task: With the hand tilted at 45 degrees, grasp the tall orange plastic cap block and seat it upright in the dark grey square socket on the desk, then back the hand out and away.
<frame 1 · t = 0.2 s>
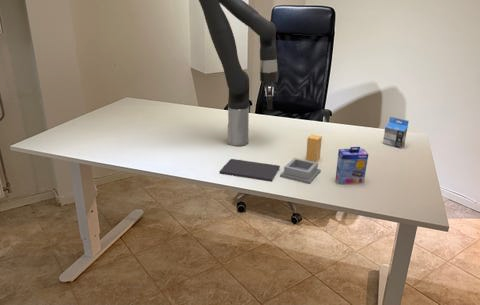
hand: (269, 106, 176), 18 cm above the table, tool pointing down, fingers open, 8 cm apart
square socket: (300, 174, 153), on the table
ink cartridge box: (349, 181, 148), on the table
blue grey product box: (393, 145, 181), on the table
orange cap block: (313, 159, 167), on the table
notebook: (250, 172, 157), on the table
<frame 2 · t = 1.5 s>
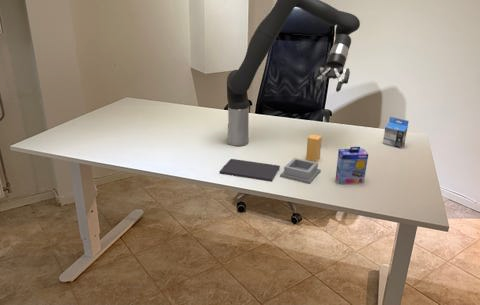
hand: (327, 89, 165), 27 cm above the table, tool tilted 45°, fingers open, 8 cm apart
nothing on the table moved.
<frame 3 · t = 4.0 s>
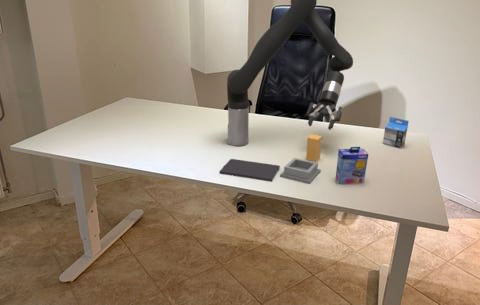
hand: (319, 127, 166), 13 cm above the table, tool tilted 45°, fingers open, 8 cm apart
nothing on the table moved.
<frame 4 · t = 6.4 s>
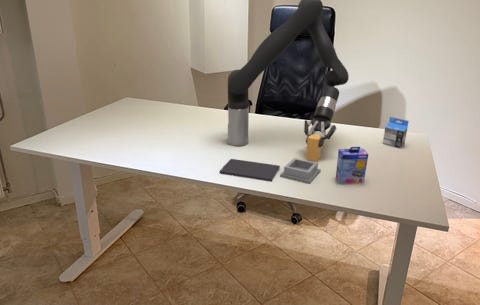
hand: (313, 145, 163), 7 cm above the table, tool tilted 45°, fingers closed on orange cap block, 4 cm apart
orange cap block: (313, 159, 167), on the table, touching gripper
everything else where it was.
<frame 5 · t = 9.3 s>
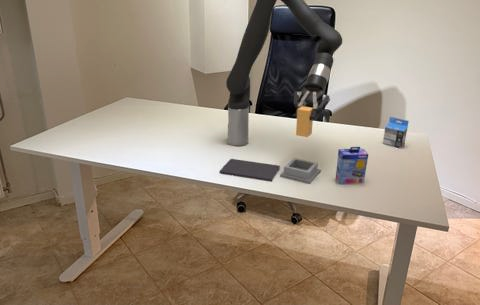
hand: (304, 118, 144), 23 cm above the table, tool tilted 45°, fingers closed on orange cap block, 4 cm apart
orange cap block: (303, 134, 147), point 16 cm above the table, touching gripper
everything else where it was.
when the fingers open (9 cm above the table, at t = 12.4 s): orange cap block drops 1 cm, resting on square socket.
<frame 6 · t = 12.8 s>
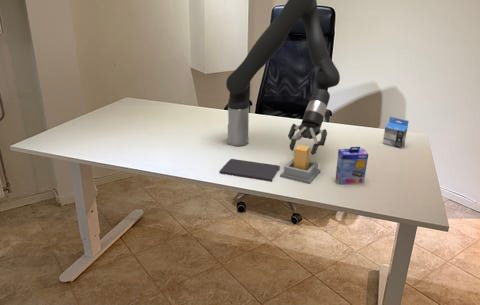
hand: (301, 151, 149), 10 cm above the table, tool tilted 45°, fingers open, 8 cm apart
orange cap block: (300, 171, 153), point 1 cm above the table, touching square socket
everything else where it was.
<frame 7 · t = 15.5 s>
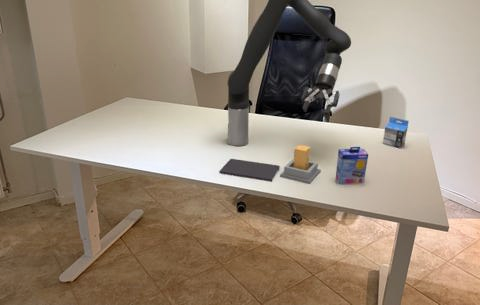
hand: (314, 112, 154), 22 cm above the table, tool tilted 45°, fingers open, 8 cm apart
nothing on the table moved.
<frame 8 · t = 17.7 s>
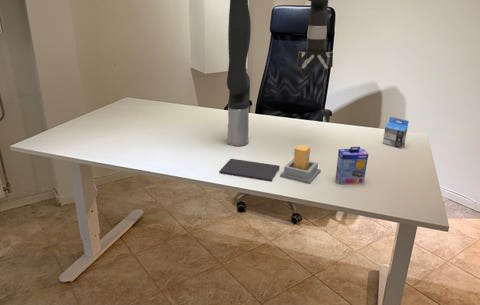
hand: (313, 77, 165), 32 cm above the table, tool pointing down, fingers open, 8 cm apart
nothing on the table moved.
at the end: orange cap block 0.1 cm off-centre on the square socket, point 1.0 cm above the square socket's base; orange cap block tilted 0°; the gripper is holding nothing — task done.
